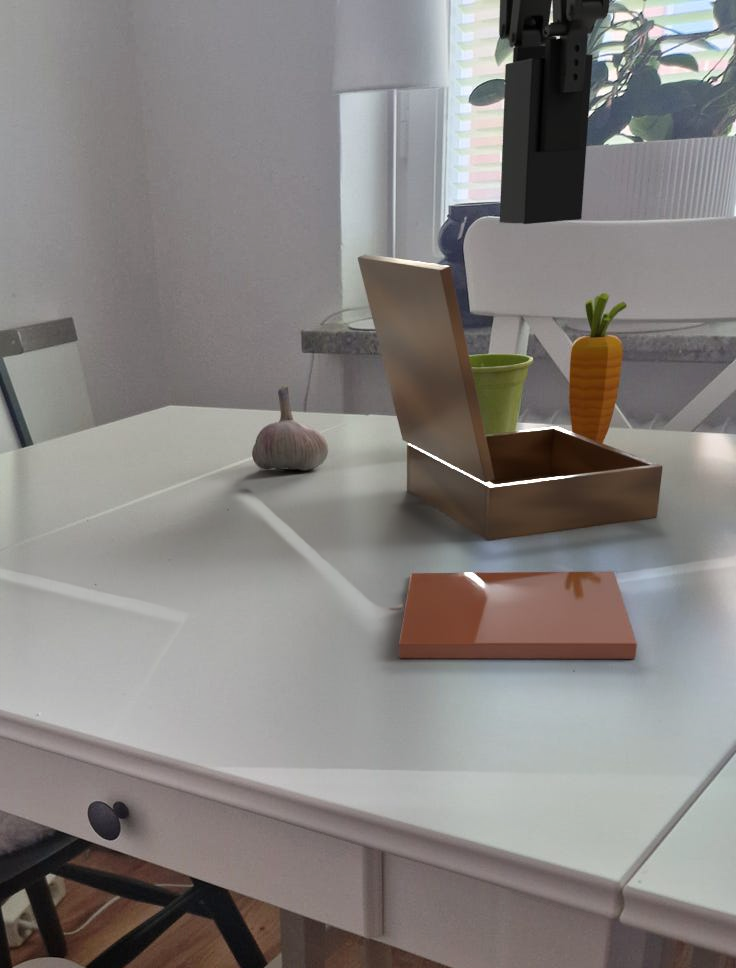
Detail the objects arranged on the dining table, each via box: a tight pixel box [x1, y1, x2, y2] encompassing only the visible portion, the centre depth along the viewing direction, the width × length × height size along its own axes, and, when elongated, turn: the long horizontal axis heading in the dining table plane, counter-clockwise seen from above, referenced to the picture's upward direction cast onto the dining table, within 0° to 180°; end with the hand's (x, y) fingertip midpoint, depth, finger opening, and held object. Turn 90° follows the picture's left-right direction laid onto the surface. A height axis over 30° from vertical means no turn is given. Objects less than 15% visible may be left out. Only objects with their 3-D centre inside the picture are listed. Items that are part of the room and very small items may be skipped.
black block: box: [499, 54, 594, 225], centre depth 84 cm, size 4×4×10 cm
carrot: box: [568, 292, 627, 444], centre depth 108 cm, size 5×5×15 cm
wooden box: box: [406, 425, 663, 542], centre depth 97 cm, size 14×18×5 cm
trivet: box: [398, 570, 638, 660], centre depth 76 cm, size 14×14×1 cm
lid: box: [357, 253, 495, 483], centre depth 91 cm, size 15×18×1 cm
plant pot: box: [469, 353, 534, 435], centre depth 117 cm, size 9×9×9 cm
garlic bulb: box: [251, 384, 329, 471], centre depth 116 cm, size 8×7×8 cm
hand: (543, 150), depth 84 cm, fingers closed on black block, 4 cm apart
